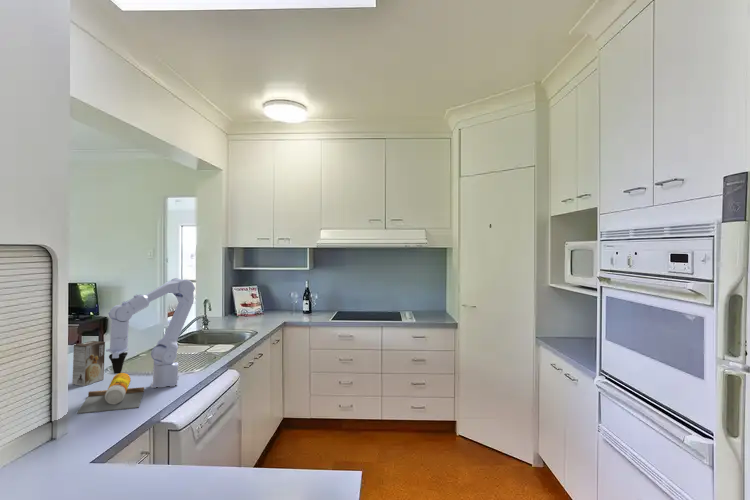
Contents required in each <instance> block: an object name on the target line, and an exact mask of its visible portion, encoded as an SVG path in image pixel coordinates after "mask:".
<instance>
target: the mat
mask: <svg viewBox="0 0 750 500" xmlns="http://www.w3.org/2000/svg"><path fill="white" fill-rule="evenodd" d="M144 393H145V391H144V392H135V393H126V394H125V397H124V399H123V400H122V401H121V402H119V403H117V404H109V403H108V402H107V401H106V400H105V395H99V396H88V395H87V397H86V399H85V401H84V402H83V403H82V404H81V406H80V407H79V409H78V411H77V412H76V415H79V414H80V415H81V414H90V413H99V412H111V411H119V410H121V411H122V410H131V409H132V410H133V409H139V408H140V404H141V402H142V399H143V396H144Z"/></svg>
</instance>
